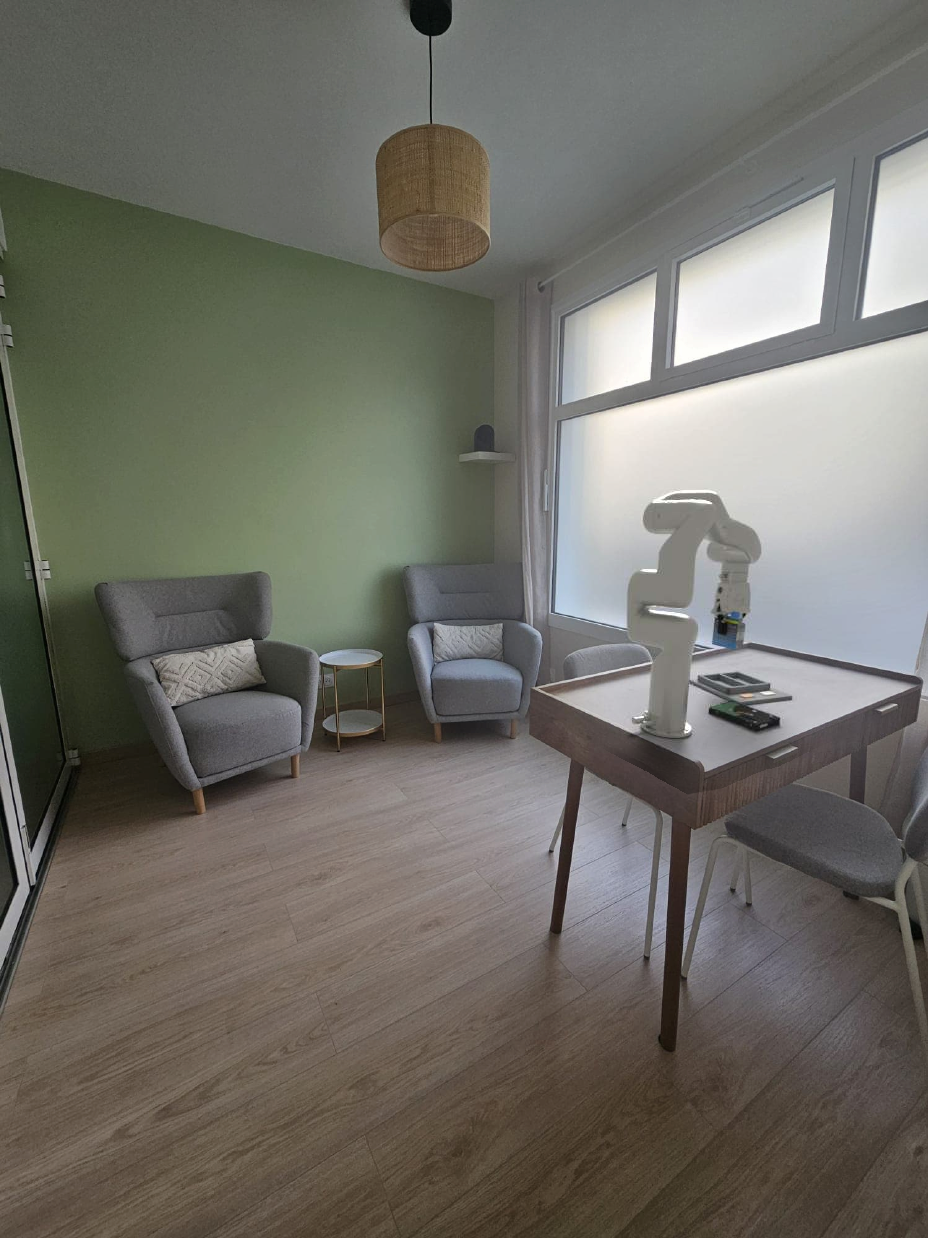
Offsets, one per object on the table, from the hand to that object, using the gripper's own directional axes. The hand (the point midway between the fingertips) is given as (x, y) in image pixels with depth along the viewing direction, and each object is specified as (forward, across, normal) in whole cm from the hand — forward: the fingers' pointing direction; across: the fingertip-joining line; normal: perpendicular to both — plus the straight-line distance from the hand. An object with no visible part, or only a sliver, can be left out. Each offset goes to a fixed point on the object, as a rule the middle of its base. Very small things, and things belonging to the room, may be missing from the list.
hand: (728, 633), depth 163 cm
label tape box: (+5, 0, 0) cm, 5 cm away
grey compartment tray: (+19, +4, -3) cm, 19 cm away
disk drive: (+20, -13, -22) cm, 32 cm away
